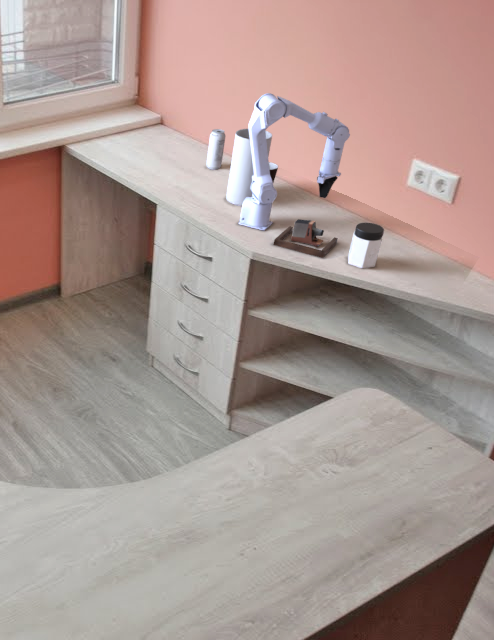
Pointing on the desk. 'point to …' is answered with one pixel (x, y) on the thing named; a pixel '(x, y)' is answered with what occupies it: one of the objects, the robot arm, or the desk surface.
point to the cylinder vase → (242, 168)
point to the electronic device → (306, 232)
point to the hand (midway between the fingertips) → (323, 197)
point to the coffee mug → (273, 170)
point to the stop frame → (300, 248)
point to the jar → (365, 245)
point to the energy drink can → (215, 149)
